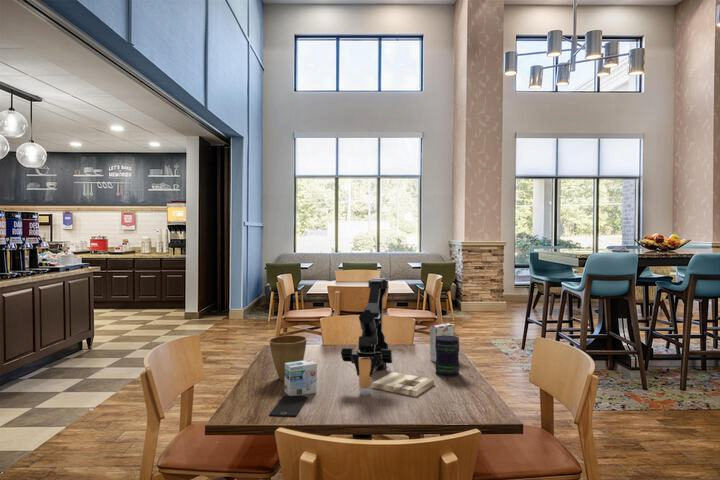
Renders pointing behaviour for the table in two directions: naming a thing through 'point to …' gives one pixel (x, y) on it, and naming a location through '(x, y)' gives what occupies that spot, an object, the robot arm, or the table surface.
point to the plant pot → (287, 351)
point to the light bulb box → (300, 377)
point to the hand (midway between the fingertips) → (364, 376)
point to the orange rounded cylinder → (365, 376)
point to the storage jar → (447, 356)
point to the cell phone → (288, 406)
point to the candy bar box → (439, 331)
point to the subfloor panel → (403, 384)
